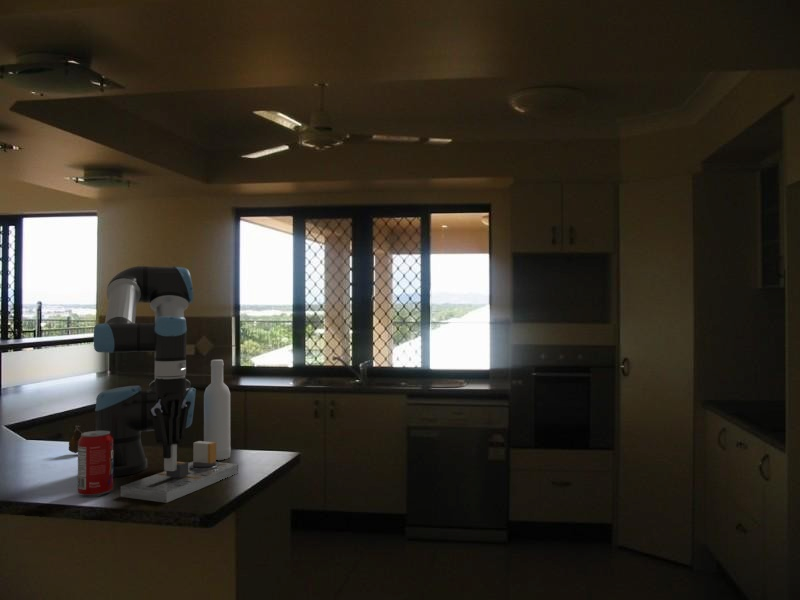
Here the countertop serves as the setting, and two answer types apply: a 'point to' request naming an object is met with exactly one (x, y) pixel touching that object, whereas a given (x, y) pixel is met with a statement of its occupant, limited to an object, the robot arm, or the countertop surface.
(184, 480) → the console
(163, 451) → the robot arm
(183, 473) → the fader
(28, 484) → the countertop surface
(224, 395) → the bottle
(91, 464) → the soda can
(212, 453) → the dial
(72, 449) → the amber spray bottle
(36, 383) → the countertop surface
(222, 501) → the countertop surface
